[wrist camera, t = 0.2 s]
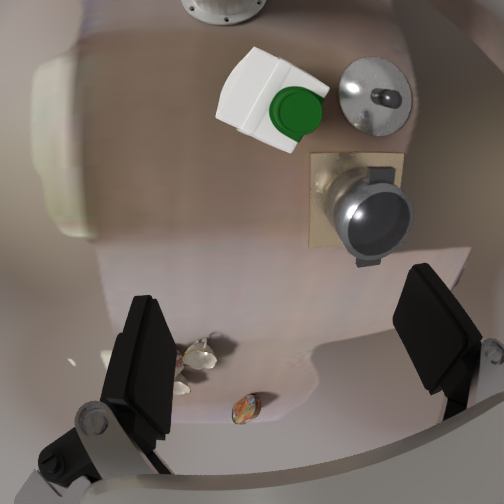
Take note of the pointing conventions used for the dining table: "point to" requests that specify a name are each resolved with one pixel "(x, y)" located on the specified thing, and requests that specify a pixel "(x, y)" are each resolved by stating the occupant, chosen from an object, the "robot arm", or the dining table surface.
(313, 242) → the pot
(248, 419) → the tin
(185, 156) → the dining table surface
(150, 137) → the dining table surface
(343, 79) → the lid
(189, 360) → the chinaware
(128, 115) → the dining table surface
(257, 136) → the soya milk
